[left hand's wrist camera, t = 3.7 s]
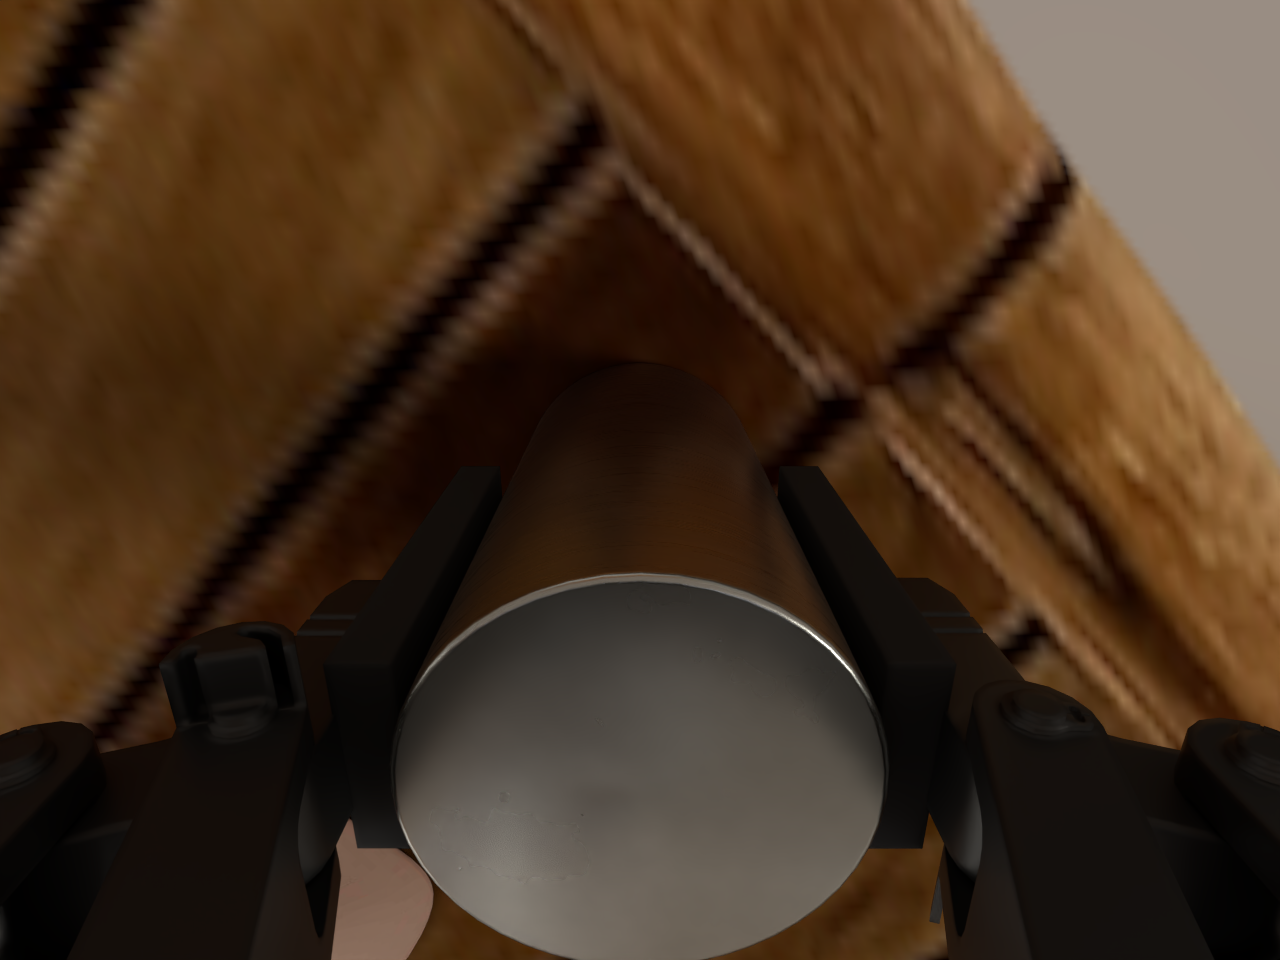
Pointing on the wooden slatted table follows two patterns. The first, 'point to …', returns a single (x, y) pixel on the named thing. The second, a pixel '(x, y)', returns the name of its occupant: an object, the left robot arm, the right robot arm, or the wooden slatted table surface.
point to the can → (639, 695)
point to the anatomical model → (378, 902)
